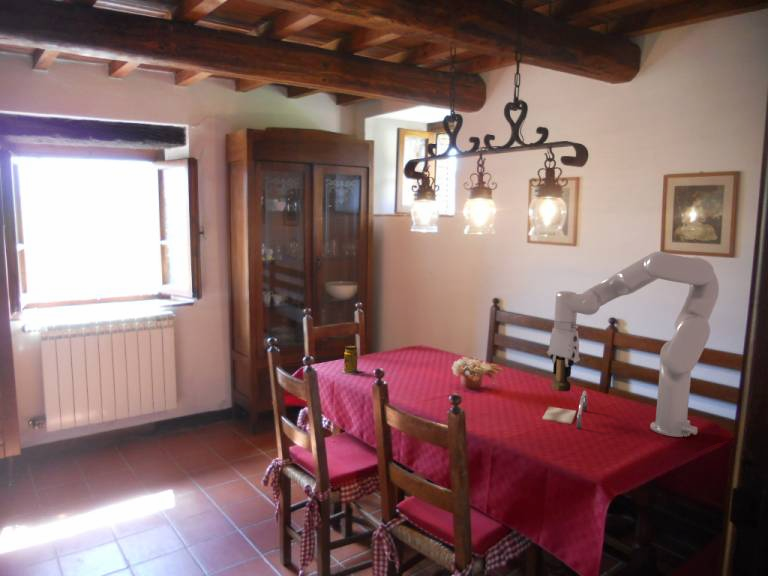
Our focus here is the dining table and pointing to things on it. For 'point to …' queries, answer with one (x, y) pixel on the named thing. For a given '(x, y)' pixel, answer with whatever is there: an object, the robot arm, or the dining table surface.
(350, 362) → the condiment
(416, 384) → the dining table surface
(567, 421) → the birch board
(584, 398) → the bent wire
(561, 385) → the mortar and pestle
